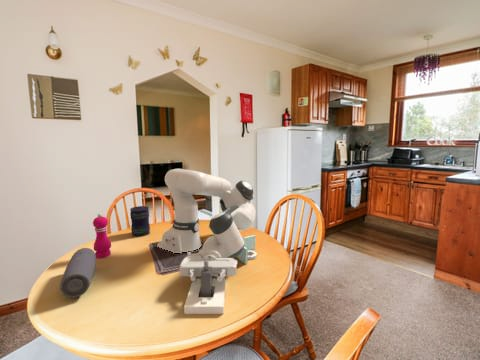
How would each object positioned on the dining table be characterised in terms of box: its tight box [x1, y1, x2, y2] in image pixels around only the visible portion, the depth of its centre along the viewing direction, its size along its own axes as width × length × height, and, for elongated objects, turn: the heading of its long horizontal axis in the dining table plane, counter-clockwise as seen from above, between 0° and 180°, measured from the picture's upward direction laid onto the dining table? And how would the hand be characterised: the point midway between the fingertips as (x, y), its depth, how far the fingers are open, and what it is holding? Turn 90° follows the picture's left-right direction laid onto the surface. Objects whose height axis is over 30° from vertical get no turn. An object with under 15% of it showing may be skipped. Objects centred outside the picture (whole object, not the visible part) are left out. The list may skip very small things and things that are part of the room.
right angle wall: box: [235, 234, 258, 265], centre depth 118 cm, size 12×12×8 cm
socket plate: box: [183, 278, 227, 315], centre depth 86 cm, size 16×12×3 cm
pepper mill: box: [92, 213, 112, 259], centre depth 117 cm, size 7×7×20 cm
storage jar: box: [129, 205, 151, 238], centre depth 144 cm, size 10×10×15 cm
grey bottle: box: [200, 260, 213, 297], centre depth 85 cm, size 4×3×13 cm, turn 1°
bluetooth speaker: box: [59, 247, 97, 298], centre depth 94 cm, size 23×9×10 cm, turn 24°
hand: (206, 279), depth 84 cm, fingers open, 7 cm apart
